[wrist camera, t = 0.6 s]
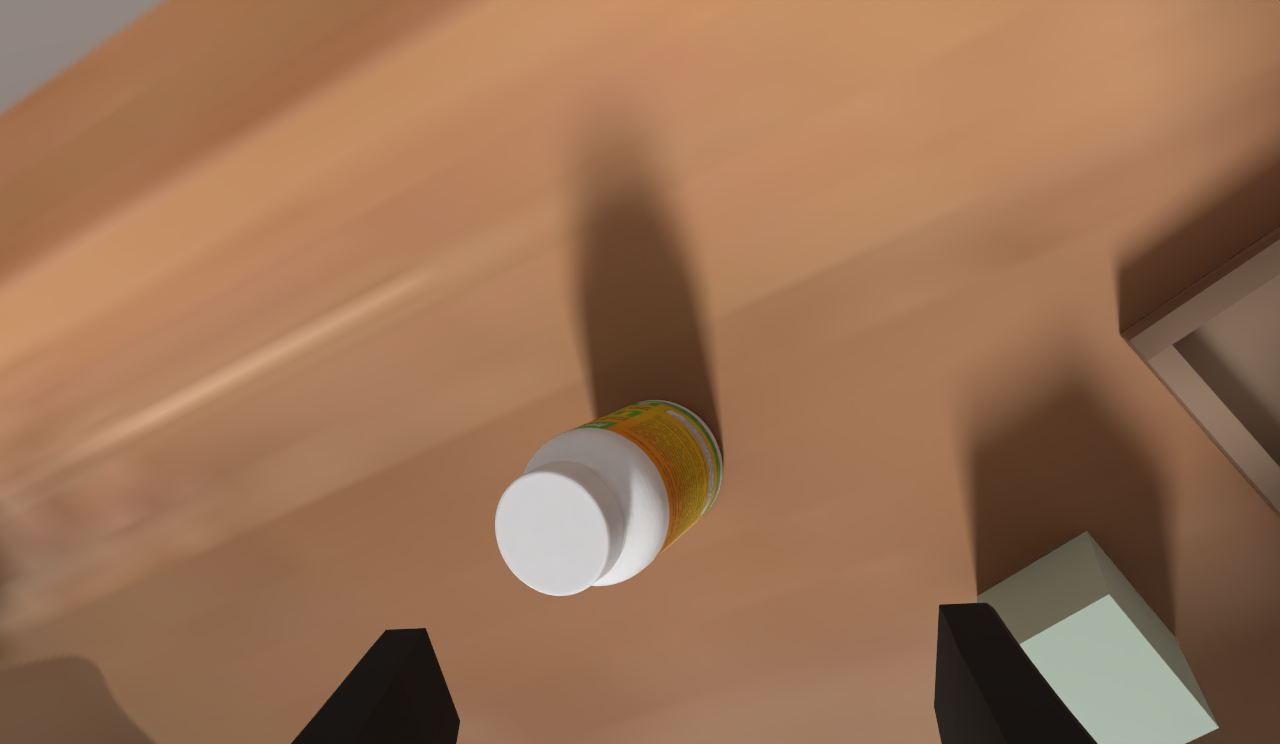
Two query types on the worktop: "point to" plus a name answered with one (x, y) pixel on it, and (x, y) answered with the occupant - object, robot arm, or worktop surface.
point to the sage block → (1102, 648)
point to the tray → (1226, 359)
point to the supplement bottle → (608, 497)
